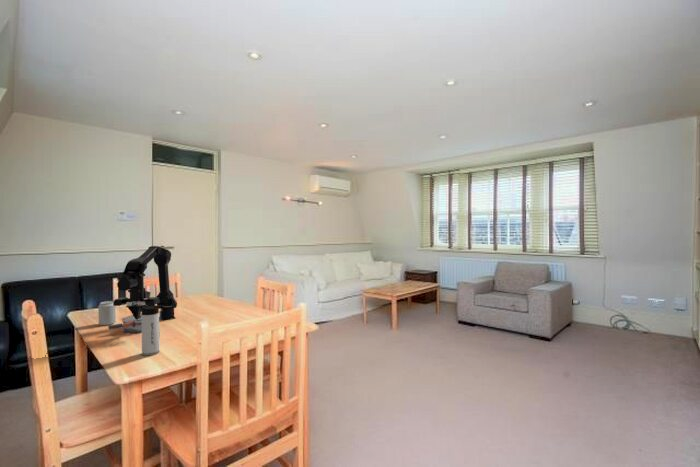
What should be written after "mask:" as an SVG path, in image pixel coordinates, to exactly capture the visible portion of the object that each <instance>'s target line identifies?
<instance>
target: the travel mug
mask: <svg viewBox="0 0 700 467" xmlns="http://www.w3.org/2000/svg"><path fill="white" fill-rule="evenodd" d="M141 308H142V311H141V315H142V316H141V320H142V333H141V355H142V356H144V357H151V356H155V355H157V354H159V353H160V320H159V317H160V309H159V307H158V306H157V304H156V305H142V306H141Z"/></svg>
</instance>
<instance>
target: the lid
mask: <svg viewBox="0 0 700 467" xmlns="http://www.w3.org/2000/svg"><path fill="white" fill-rule="evenodd" d="M141 314H142V313H141ZM141 314H140V316H139V319H135V317H134V316H133V314H131V315H128V316H125V317H122V321H121V322H122V324H123V323H125V324H123V327H130V326H131V325H133V324H135V323H141V322H142V320H141V316H142V315H141ZM123 327H122V328H123Z"/></svg>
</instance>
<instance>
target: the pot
mask: <svg viewBox="0 0 700 467" xmlns="http://www.w3.org/2000/svg"><path fill="white" fill-rule="evenodd" d="M159 321H163V320H162V317H160V316H159ZM123 324H125V323H123V322H122V323H117V324H115V323H114V324H112V325H107V328H108V329H107V330H115V329H120V328H122V332H123V333H124V334H128V335H129V334H131V335H134V334H142V322H141V323H135V324H133V325H131V326H130V327H123Z"/></svg>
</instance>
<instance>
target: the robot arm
mask: <svg viewBox="0 0 700 467" xmlns="http://www.w3.org/2000/svg"><path fill="white" fill-rule="evenodd" d="M171 258H172V253H171V251H170V250H169V249H166V248H163V247H161V246H159V245H151V246H149V247H148V248H147V249H146V250H145V251H144V252H143V253H142V254H141V255H140V256H138V257H136V258H132V259H131V260H128V262H127V263H126V265H125V267H124V269H123V273H122V275H121V278H120V279H119V280H118V282H117V283H116V286H117V288H118V290H120V291H121V292H126V291H127V293H129V297H119V298H115V299H114V300H113V301H114V302H113V306H115V307H117V306H121V305H122V304H126V306H125V307H126V308H128V310H129V311H130V312H131V315H133V316H134V317H135V319H139V316H140V314H142V308H141V306H142V305H156V306H158V307H159V317H162V320H161V321H169V320H174V319H176V317H175V308H176V309H177V306H178V302H177V300H176V299H175V296H174V293H173V292H172V291H171V289H170V278H169V277H170V276H169V263H170V262H171ZM152 260H153V262H154V263H155V265H156V266H157V274H158V284H159V285H158V286H159V292H158V293H157V295H156V296H154V297H153V296H151V292H150V291H147V290H146V287H144V277H145V276H146V273H145V271H146V270H147V268H148V264H149V263H151V261H152ZM150 296H151V297H150Z"/></svg>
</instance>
